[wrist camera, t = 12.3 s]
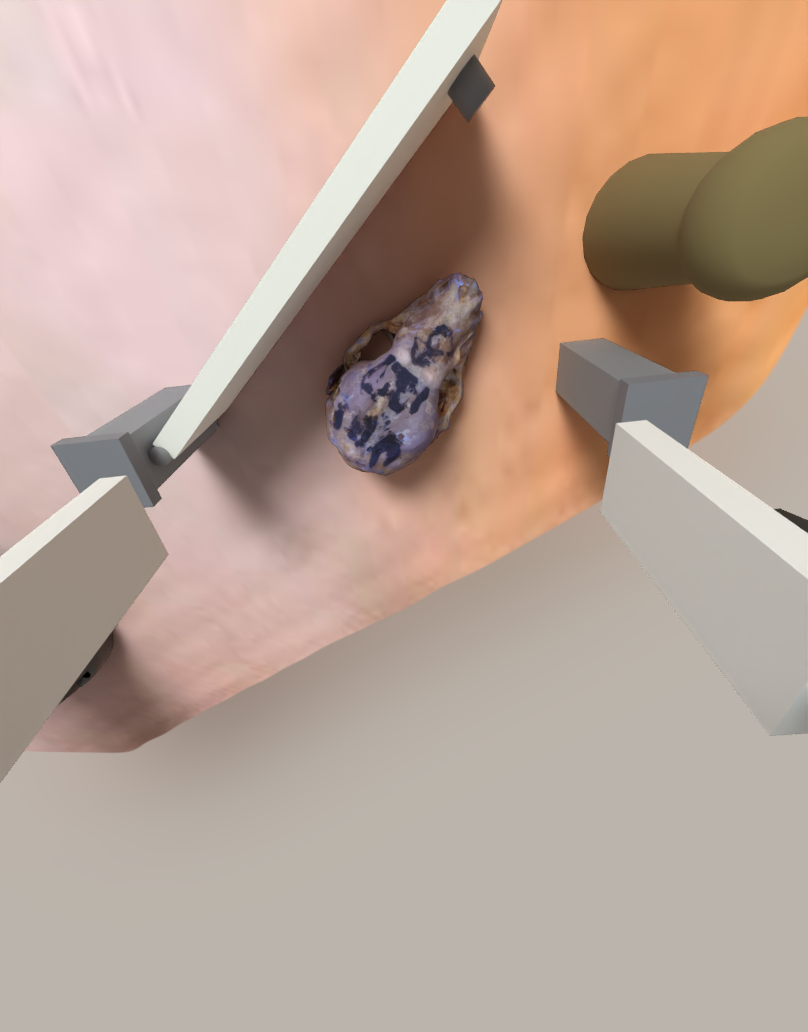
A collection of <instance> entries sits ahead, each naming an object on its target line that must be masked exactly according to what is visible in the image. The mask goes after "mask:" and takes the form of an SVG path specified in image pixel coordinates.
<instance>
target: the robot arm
mask: <svg viewBox="0 0 808 1032" xmlns="http://www.w3.org/2000/svg"><path fill="white" fill-rule="evenodd" d="M600 513H601V514H602V515H603V517H604V518H605V520H606V521H607V522H608V524H609V525H610V526H611V528H612V529H613V530H614V532H615V533H616V534H617V535H618V537H619V538H620V539H621V541H622V542H623V543H624V545H625V546H626V547H627V549H628V550H629V551H630V552H631V554H632V555H633V557H634V558H635V559H636V561H637V562H638V563H639V564H640V566H641V567H642V568H643V570H644V571H645V572H646V574H647V575H648V576H649V578H650V579H651V580H652V581H653V583H654V584H655V586H656V587H657V588H658V589H659V591H660V592H661V593H662V595H663V596H664V597H665V599H666V600H667V601H668V603H669V604H670V605H671V606H672V608H673V609H674V611H675V612H676V613H677V614H678V616H679V617H680V618H681V620H682V621H683V622H684V624H685V625H686V626H687V628H688V629H689V630H690V631H691V633H692V634H693V635H694V637H695V638H696V640H697V641H698V642H699V644H700V645H701V646H702V647H703V649H704V650H705V651H706V653H707V654H708V655H709V657H710V658H711V659H712V661H713V662H714V663H715V664H716V666H717V667H718V669H719V670H720V671H721V672H722V674H723V675H724V676H725V678H726V679H727V680H728V682H729V683H730V684H731V686H732V687H733V688H734V690H735V691H736V692H737V694H738V695H739V696H740V697H741V699H742V700H743V701H744V702H745V704H746V705H747V707H748V708H749V709H750V711H751V712H752V713H753V715H754V716H755V717H756V719H757V720H758V721H759V723H760V724H761V725H762V727H763V728H764V729H765V730H766V732H767V733H768V734H769V736H776V735H791V734H805V733H808V520H806V519H803V518H801V517H799V516H796V515H794V514H791V513H789V512H787V511H784V510H782V509H772V508H771V507H770V506H768V505H767V504H765V503H764V502H762V501H761V500H760V499H758V498H757V497H755V496H754V495H752V494H751V493H750V492H748V491H747V490H745V489H744V488H742V487H741V486H740V485H738V484H737V483H735V482H734V481H732V480H731V479H730V478H728V477H727V476H725V475H724V474H723V473H721V472H720V471H718V470H717V469H715V468H714V467H713V466H711V465H710V464H708V463H707V462H705V461H704V460H703V459H701V458H700V457H698V456H697V455H696V454H694V453H693V452H691V451H690V450H688V449H687V448H686V447H684V446H683V445H681V444H680V443H678V442H677V441H676V440H674V439H673V438H671V437H670V436H668V435H667V434H666V433H664V432H663V431H661V430H660V429H659V428H657V427H656V426H654V425H653V424H651V423H650V422H649V421H647V420H642V421H632V422H623V423H616V426H615V432H614V438H613V443H612V449H611V454H610V460H609V465H608V471H607V477H606V482H605V488H604V493H603V499H602V504H601V510H600ZM168 555H169V554H168V552H167V550H166V548H165V547H164V545H163V543H162V541H161V539H160V537H159V535H158V534H157V532H156V530H155V528H154V526H153V524H152V522H151V520H150V519H149V517H148V515H147V513H146V511H145V509H144V507H143V506H142V504H141V502H140V500H139V498H138V496H137V494H136V492H135V491H134V489H133V487H132V485H131V483H130V481H129V479H128V477H127V476H117V477H108V478H99V479H98V480H97V481H96V482H94V483H93V484H92V485H91V486H89V487H88V488H87V489H85V490H84V491H83V492H82V493H80V494H79V495H78V496H77V497H75V498H74V499H73V500H71V501H70V502H69V503H68V504H66V505H65V506H64V507H63V508H61V509H60V510H59V511H57V512H56V513H55V514H54V515H52V516H51V517H50V518H49V519H47V520H46V521H45V522H44V523H42V524H41V525H40V526H38V527H37V528H36V529H35V530H33V531H32V532H31V533H30V534H28V535H27V536H26V537H24V538H23V539H22V540H21V541H19V542H18V543H17V544H16V545H14V546H13V547H12V548H10V549H9V550H8V551H7V552H5V553H4V554H3V555H2V556H0V783H1V781H2V780H3V779H4V777H5V776H6V775H7V773H8V772H9V770H10V769H11V768H12V766H13V765H14V764H15V762H16V761H17V760H18V758H19V757H20V756H21V754H22V753H23V752H24V750H25V749H26V747H27V746H28V745H29V743H30V742H31V741H32V739H33V738H34V737H35V735H36V734H37V733H38V731H39V730H40V728H41V727H42V726H43V724H44V723H45V722H46V720H47V719H48V718H49V716H50V715H51V714H52V712H53V711H54V709H55V708H56V707H57V705H59V704H60V703H61V702H62V701H64V700H65V699H66V698H67V697H69V696H70V695H71V694H72V693H74V692H75V691H76V690H77V689H78V688H79V687H81V686H83V685H84V684H85V683H87V682H88V681H89V680H90V679H91V678H92V677H93V676H94V675H95V674H96V673H97V672H98V670H99V669H100V667H101V666H102V665H103V663H104V662H105V660H106V659H107V658H108V656H109V655H110V653H111V650H112V646H113V637H112V633H111V632H112V631H113V629H114V628H115V627H116V625H117V624H118V623H119V621H120V620H121V618H122V617H123V616H124V614H125V613H126V612H127V610H128V609H129V608H130V606H131V605H132V603H133V602H134V601H135V599H136V598H137V597H138V595H139V594H140V593H141V591H142V590H143V589H144V587H145V586H146V584H147V583H148V582H149V580H150V579H151V578H152V576H153V575H154V574H155V572H156V571H157V570H158V568H159V567H160V565H161V564H162V563H163V561H164V560H165V559H166V557H167V556H168Z"/></svg>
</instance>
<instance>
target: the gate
mask: <svg viewBox="0 0 808 1032" xmlns="http://www.w3.org/2000/svg"><path fill="white" fill-rule="evenodd" d="M501 3H502V0H447V1H446V2H445V4H444V5H443V7H442V8H441V10H440V11H439V13H438V14H437V16H436V17H435V19H434V20H433V22H432V23H431V25H430V26H429V28H428V29H427V31H426V32H425V34H424V35H423V37H422V38H421V40H420V41H419V43H418V44H417V46H416V47H415V49H414V50H413V52H412V53H411V55H410V56H409V58H408V59H407V61H406V62H405V64H404V65H403V67H402V68H401V70H400V72H399V73H398V75H397V76H396V78H395V79H394V81H393V82H392V84H391V85H390V87H389V88H388V90H387V91H386V93H385V94H384V96H383V97H382V99H381V100H380V102H379V103H378V105H377V106H376V108H375V109H374V111H373V112H372V114H371V115H370V117H369V118H368V120H367V121H366V123H365V124H364V126H363V127H362V129H361V130H360V132H359V133H358V135H357V136H356V138H355V139H354V141H353V142H352V144H351V145H350V147H349V148H348V150H347V151H346V153H345V154H344V156H343V157H342V159H341V160H340V162H339V163H338V165H337V166H336V168H335V169H334V171H333V172H332V174H331V176H330V177H329V179H328V180H327V182H326V183H325V185H324V186H323V188H322V189H321V191H320V192H319V194H318V195H317V197H316V198H315V200H314V201H313V203H312V204H311V206H310V207H309V209H308V210H307V212H306V213H305V215H304V216H303V218H302V219H301V221H300V222H299V224H298V225H297V227H296V228H295V230H294V231H293V233H292V234H291V236H290V237H289V239H288V240H287V242H286V243H285V245H284V246H283V248H282V249H281V251H280V252H279V254H278V255H277V257H276V258H275V260H274V261H273V263H272V264H271V266H270V267H269V269H268V270H267V272H266V273H265V275H264V276H263V278H262V279H261V281H260V283H259V284H258V286H257V287H256V289H255V290H254V292H253V293H252V295H251V296H250V298H249V299H248V301H247V302H246V304H245V305H244V307H243V308H242V310H241V311H240V313H239V314H238V316H237V317H236V319H235V320H234V322H233V323H232V325H231V326H230V328H229V329H228V331H227V332H226V334H225V335H224V337H223V338H222V340H221V341H220V343H219V344H218V346H217V347H216V349H215V350H214V352H213V353H212V355H211V356H210V358H209V359H208V361H207V362H206V364H205V365H204V367H203V368H202V370H201V371H200V373H199V374H198V376H197V377H196V379H195V380H194V382H193V383H192V385H191V387H190V388H189V390H188V391H187V393H186V394H185V396H184V397H183V399H182V400H181V402H180V403H179V405H178V406H177V408H176V409H175V411H174V412H173V414H172V415H171V417H170V418H169V420H168V421H167V423H166V424H165V426H164V427H163V429H162V430H161V432H160V433H159V435H158V436H157V438H156V439H155V441H154V442H153V445H154V446H155V447H154V448H152V449H151V450H150V451H149V454H148V455H149V459H150V460H151V461H152V462H153V463H154V464H155V465H158V466H166V465H167V464H169V463H170V462H171V461H172V460H173V459H175V458H176V457H178V456H179V455H180V454H181V453H182V452H183V451H184V450H185V449H186V448H187V447H188V446H189V445H190V444H191V443H192V442H193V441H194V440H195V439H196V438H198V437H199V436H200V435H201V434H202V433H203V432H204V431H205V430H206V429H207V428H208V427H209V426H210V425H211V424H212V423H213V422H214V421H215V420H216V419H218V418H219V417H220V416H221V415H222V414H223V413H224V412H225V411H226V410H227V409H228V407H229V406H230V405H231V403H232V402H233V401H234V399H235V398H236V396H237V395H238V394H239V392H240V391H241V390H242V388H243V387H244V386H245V384H246V383H247V381H248V380H249V379H250V377H251V376H252V375H253V373H254V372H255V371H256V369H257V368H258V366H259V365H260V364H261V362H262V361H263V360H264V358H265V357H266V356H267V354H268V353H269V351H270V350H271V349H272V347H273V346H274V345H275V343H276V342H277V341H278V339H279V338H280V336H281V335H282V334H283V332H284V331H285V330H286V328H287V327H288V326H289V324H290V323H291V321H292V320H293V319H294V317H295V316H296V315H297V313H298V312H299V311H300V309H301V308H302V306H303V305H304V304H305V302H306V301H307V300H308V298H309V297H310V296H311V294H312V293H313V291H314V290H315V289H316V287H317V286H318V285H319V283H320V282H321V281H322V279H323V278H324V276H325V275H326V274H327V272H328V271H329V270H330V268H331V267H332V266H333V264H334V263H335V261H336V260H337V259H338V257H339V256H340V255H341V253H342V252H343V251H344V249H345V248H346V246H347V245H348V244H349V242H350V241H351V240H352V238H353V237H354V236H355V234H356V233H357V231H358V230H359V229H360V227H361V226H362V225H363V223H364V222H365V221H366V219H367V218H368V216H369V215H370V214H371V212H372V211H373V210H374V208H375V207H376V206H377V204H378V203H379V201H380V200H381V199H382V197H383V196H384V195H385V193H386V192H387V191H388V189H389V188H390V186H391V185H392V184H393V182H394V181H395V180H396V178H397V177H398V176H399V174H400V173H401V172H402V170H403V169H404V167H405V166H406V165H407V163H408V162H409V161H410V159H411V158H412V157H413V155H414V154H415V152H416V151H417V150H418V148H419V147H420V146H421V144H422V143H423V142H424V140H425V139H426V137H427V136H428V135H429V133H430V132H431V131H432V129H433V128H434V127H435V125H436V124H437V122H438V121H439V120H440V118H441V117H442V116H443V114H444V113H445V112H446V110H447V109H448V107H449V106H450V105H451V103H452V102H454V104H455V105H456V107H457V108H458V109H459V111H460V112H461V114H462V115H463V117H464V118H465V119H466V121H467V122H469V120H470V119H471V118H472V117H473V116H474V114H475V113H476V112H477V110H478V109H479V108H480V106H481V105H482V104H483V102H484V101H485V100H486V98H487V97H488V96H489V94H490V93H491V91H492V90H493V89H494V87H495V84H494V83H493V81H492V80H491V78H490V77H489V75H488V74H487V72H486V71H485V69H484V68H483V66H482V65H481V63H480V62H479V60H478V59H479V56H480V54H481V51H482V49H483V47H484V44H485V42H486V39H487V37H488V34H489V32H490V29H491V27H492V25H493V22H494V20H495V17H496V15H497V12H498V10H499V8H500V5H501Z"/></svg>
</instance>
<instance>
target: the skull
mask: <svg viewBox="0 0 808 1032" xmlns="http://www.w3.org/2000/svg"><path fill="white" fill-rule="evenodd" d="M482 299H483V295H482V292H481V291H480V290H479V287H478V285H477V282H476V281H475V279H472V278H468V277H467V276H465V275H462V274H461V273H456V274H450V275H448V276H447V277H446V278H444V279H443V280H441V279H439V280H438V281H437V282H436V283H435V285H433V286H432V287H431V288H430V289H429V291H428V292H426V293H425V294H424V295H422V296H421V297H419V298H417V299H415V300H414V301H412V302H411V304H410V305H409V307H408V308H407V309H405V310H404V311H402V312H400V313H399V314H397V316H396V317H395V318H393V319H390V320H387V321H382V322H379V323H378V324H375V325H373V326H371V327H370V328H368V329H367V330H366V331H365V332H364V333H363V334H362V335H361V336H360V337H359V338H358V339H357V341H356V342H355V343H354V344H353V345H352V346H350V347H349V348H348V349H347V351H346V352H345V355H344V358H343V364H342V365H341V366H339V367H338V368H337V369H336V370H335V372H333V374H332V375H331V376H330V377H329V382H328V386H327V389H326V394H328V395H329V398H328V400H327V402H326V407H325V416H326V425H327V434H328V438H329V440H330V442H331V443H332V444H334V445H335V446H336V447H337V449H338V451H339V453H340V454H341V456H342V458H343V459H344V461H345V462H346V463H347V464H348V465H349V466H351V467H352V468H354V469H357V470H359V471H363V472H373V473H378V474H381V475H384V476H386V475H389V474H391V473H393V472H395V471H397V470H399V469H402V468H404V467H406V466H407V465H409V464H411V463H412V462H414V461H415V460H416V459H417V458H418V457H419V455H420V454H421V453H422V452H423V451H424V450H425V449H426V448H427V447H428V446H429V445H430V444H431V443H432V442H433V441H434V440H435V438H438V436H439V434H440V433H441V432H443V431H445V430H446V429H448V428H449V421H450V417H451V415H452V414H453V412H454V410H455V409H456V407H457V406H458V404H459V403H460V401H461V399H462V395H463V381H462V372H463V367H464V366H466V364H467V360H468V353H469V351H470V349H471V348H472V343H473V339H474V335H475V330H476V327H477V325H478V323H479V321H480V320H481V318H482V316H483V313H482V312H481V311H479V310H480V307H481V303H482ZM380 331H383V332H384V333H385V334H386V335H387V336H388V338H389V340H390V341H391V345H392V346H391V348H390V350H389V351H387V352H386V353H384V354H382V355H381V356H380V357H378V358H377V359H375V360H364V361H363V360H362V359H361V358H360V356H361V354H362V349H363V348H365V347H366V346H368V344H369V343H370V340H371V338H372V336H373V335H375V334H377V333H378V332H380ZM440 409H442V410H441V412H439V410H440Z"/></svg>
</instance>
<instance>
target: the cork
mask: <svg viewBox="0 0 808 1032" xmlns="http://www.w3.org/2000/svg"><path fill="white" fill-rule="evenodd" d="M583 249H584V258H585V260H586V263H587V265H588V268H589V270H590V272H591V274H592V275H593V276H594V277H595V278H596V279H597V280H598V281H599V282H600V283H601V284H603V285H605V286H608V287H610V288H613V289H615V290H635V289H645V288H654V287H664V286H674V285H683V284H693V285H694V286H695V287H696V288H697V289H698V290H699V291H700V292H702V293H704V294H707V295H709V296H712V297H714V298H716V299H719V300H724V301H753V300H758V299H762V298H765V297H768V296H772V295H775V294H778V293H781V292H784V291H786V290H787V289H789V288H791V287H792V286H794V285H795V284H797V283H799V282H800V281H802V280H804V279H805V278H807V277H808V117H796V118H793V119H790V120H787V121H784V122H782V123H779V124H777V125H774V126H771V127H769V128H766V129H764V130H761V131H758V132H756V133H754V134H753V135H752V136H750V137H749V138H748V139H746V140H745V141H744V142H742V143H741V144H740V145H738V146H737V147H735V148H734V149H733V150H731V151H730V152H708V153H665V154H647V155H645V156H642V157H640V158H637V159H635V160H632V161H630V162H628V163H627V164H626V165H624V166H623V167H622V168H621V169H619V170H618V171H617V172H616V173H614V174H613V175H612V176H611V177H610V178H609V179H608V181H607V182H606V183H605V185H604V186H603V187H602V188H601V190H600V191H599V192H598V194H597V195H596V197H595V199H594V201H593V204H592V206H591V208H590V210H589V212H588V215H587V217H586V223H585V228H584V233H583Z"/></svg>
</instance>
